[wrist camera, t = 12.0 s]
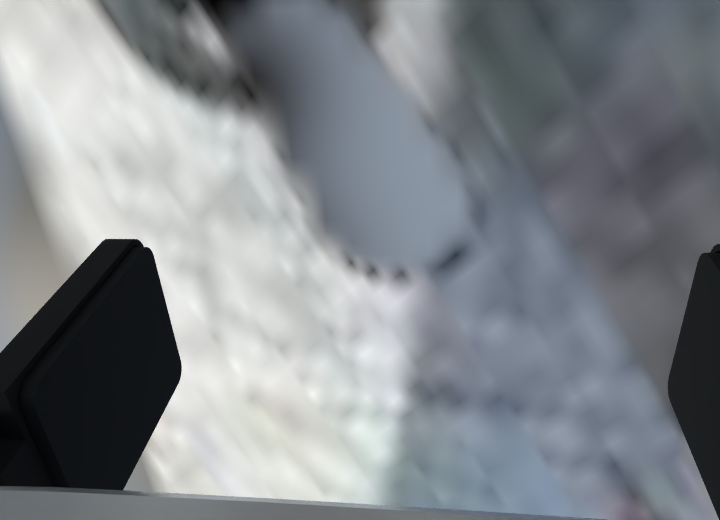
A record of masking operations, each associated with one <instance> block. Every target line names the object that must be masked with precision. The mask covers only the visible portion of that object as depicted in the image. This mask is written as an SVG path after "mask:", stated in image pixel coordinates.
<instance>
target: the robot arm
mask: <svg viewBox="0 0 720 520" xmlns="http://www.w3.org/2000/svg"><path fill="white" fill-rule="evenodd" d="M180 377H181V360H180V356H179V352H178V349H177V345H176V341H175V337H174V333H173V329H172V325H171V321H170V318H169V314H168V310H167V306H166V302H165V298H164V294H163V290H162V287H161V283H160V279H159V275H158V271H157V267H156V263H155V259H154V256H153V253H152V251H151V249H150V248H148V247H144V246H143V244H142V243H141V242H140V241H139V240H137V239H105V240H104V241H103V242H101V244H100V245H99V246H98V247H97V248H96V249H95V250H94V251H93V252H92V253H91V254H90V256H89V257H88V258H87V259H86V260H85V261H84V262H83V263H82V264H81V265H80V266H79V268H78V269H77V270H76V271H75V272H74V273H73V274H72V275H71V276H70V277H69V278H68V280H67V281H66V282H65V283H64V284H63V285H62V286H61V287H60V288H59V289H58V290H57V292H56V293H55V294H54V295H53V296H52V297H51V298H50V299H49V300H48V301H47V303H46V304H45V305H44V306H43V307H42V308H41V309H40V310H39V311H38V312H37V314H36V315H35V316H34V317H33V318H32V319H31V320H30V321H29V322H28V323H27V324H26V325H25V327H24V328H23V329H22V330H21V331H20V332H19V333H18V334H17V335H16V336H15V337H14V339H13V340H12V341H11V342H10V343H9V344H8V345H7V346H6V347H5V348H4V350H3V351H2V352H1V353H0V520H605V519H590V518H575V517H560V516H545V515H530V514H515V513H499V512H484V511H469V510H452V509H436V508H420V507H404V506H388V505H371V504H354V503H338V502H321V501H304V500H287V499H270V498H252V497H234V496H216V495H198V494H179V493H161V492H142V491H124V490H123V489H124V487H125V485H126V483H127V481H128V479H129V478H130V475H131V474H132V472H133V470H134V468H135V466H136V464H137V462H138V460H139V458H140V456H141V454H142V452H143V451H144V449H145V447H146V445H147V443H148V441H149V439H150V437H151V435H152V433H153V431H154V429H155V427H156V426H157V424H158V422H159V420H160V418H161V416H162V414H163V412H164V410H165V408H166V406H167V404H168V402H169V400H170V399H171V397H172V395H173V393H174V391H175V389H176V387H177V385H178V383H179V381H180ZM668 394H669V399H670V402H671V404H672V407H673V409H674V412H675V414H676V416H677V419H678V421H679V424H680V426H681V428H682V431H683V433H684V436H685V438H686V441H687V443H688V445H689V448H690V450H691V453H692V455H693V457H694V460H695V462H696V465H697V467H698V470H699V472H700V474H701V477H702V479H703V482H704V484H705V486H706V489H707V491H708V494H709V496H710V499H711V501H712V503H713V506H714V508H715V511H716V513H717V515H718V518H719V520H720V244H717V245H715V246H714V247H713V249H712V250H711V253H703V254H701V256H700V257H699V260H698V263H697V267H696V271H695V275H694V279H693V283H692V287H691V291H690V295H689V299H688V303H687V307H686V311H685V315H684V319H683V323H682V327H681V331H680V335H679V339H678V343H677V347H676V351H675V355H674V359H673V363H672V367H671V371H670V375H669V380H668Z"/></svg>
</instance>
